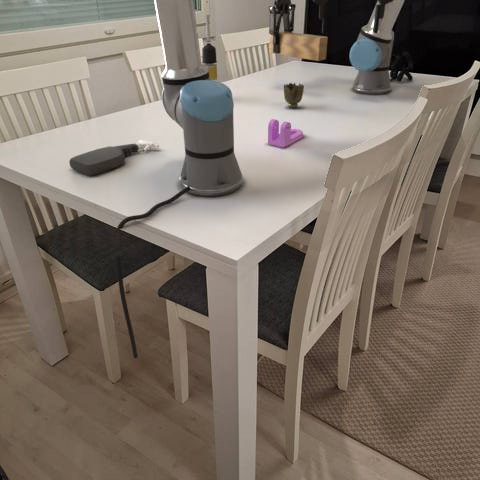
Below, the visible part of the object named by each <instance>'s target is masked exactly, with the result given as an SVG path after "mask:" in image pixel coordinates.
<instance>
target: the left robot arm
mask: <svg viewBox="0 0 480 480" xmlns="http://www.w3.org/2000/svg"><path fill="white" fill-rule="evenodd" d="M153 1H154V7H155V11H156V18H157V23H158V29H159V34H160V39H161V45H162V50H163V55H164V62H165V68H164V70H163V71H162V73H161V81H162V86H163V88H162V92H161V101H162V104H163V108H164V111H165V112H166V114H167V115H168V117H170V118H171V120H172V121H174V122H175V123H176V124H177V125H179V127H180V128H181V129H182V131H183V143H184V154H185V155H184V158H183V164H182V168H181V171H180V176H179V183H180V184H179V185H180V188H181V189H182V190H180V191H179V192H177V193H175V194H174V195H173V196H172V197H170V198H168V199H166V200H164V201H160V202H158V203H156V204H155V205H153V206H152V207H151V208H150V209H149V210H148V211H147V212H145V213H142V214H134V215H130V216H127V217H125V218H123V219H122V220H121V221H120V222H119V224H118V225H117V226H116V229H117V230H121V229H123V227H124V226H125V225H126V224H127V223H129V222H132V221H138V220H143V219H146V218H148V217H151V215H153V214H154V213H155V212H156V211H157V210H158V209H160V208H162V207H164V206H168V205H169V204H171V203H173V202H175V201H176V200H178V199H179V198H180V197H182V196H183V195H185V194H190V195H194V196H199V197H221V196H224V195H229V194H232V193H234V192H235V191H237V190H239V189H240V188H241V187H242V185H243V174H242V171H241V168H240V165H239V163H238V160H237V157H236V154H235V132H234V131H235V130H234V127H235V126H234V109H235V108H234V107H235V104H234V103H235V102H234V99H233V93H232V90H231V88H230V87H229V86H228V85H226V84H225V83H222V82H219V81H216V80H212V81H210V76H209V69H208V68H207V67H206V66H205V65H204V63H202V57H201V55H202V54H201V49H200V42H199V41H200V40H199V35H198V33H199V32H198V27H197V26H198V25H197V19H196V12H195V11H196V10H195V5H194V4H195V3H194V0H153ZM312 1H313V4H316V5H318V6H319V11H318V19H319V20H322V24H321V26H322V27H321V33H322V34H323V35H325V34H326V32H327V20H328V7H329V6H328V5H327V3H328V1H329V0H312ZM377 1H379V3H380V5H376V4H375V6H376V11H375V18H374V26H373V32H374V33H377V32H378V25H379V19H383V17H384V10H385V5H386V4H387V3H390V2H392V1H393V0H377ZM122 267H123V266H122V257H121V256H116V271H117V272H116V273H117V282H118V288H119V294H120V299H121V300H120V301H121V305H122V310H123V313H124V314H123V315H124V319H125V322H126V326H127V331H128V335H129V339H130V345H131V351H132V355H133V359H138V357H139V356H138V351H137V350H138V349H137V345H136V339H135V335H134V330H133V327H132V321H131V317H130V314H129V308H128V304H127V298H126V293H125V286H124V278H123V268H122Z"/></svg>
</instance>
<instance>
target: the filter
mask: <svg viewBox="0 0 480 480" xmlns="http://www.w3.org/2000/svg"><path fill="white" fill-rule="evenodd" d="M210 17H211V14H204V18H205V27H206V29H205V30H206V31H205V33H206V39H207V40H206V42H207V43H206V45H204V46H202V49H201V50H202V51H201V52H202V54H201V55H202V57H201V59H202V60H201V62H202V64H204V65H205V66H206V67H207V68H208V69H209V76H210V81H216V80H218V64H216V63H218V61H217V48H216V47H215V46H214V45H212V43H210V42H211V40H210V39H211V31H210V29H211V28H210Z"/></svg>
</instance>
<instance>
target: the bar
mask: <svg viewBox="0 0 480 480" xmlns="http://www.w3.org/2000/svg"><path fill="white" fill-rule="evenodd" d="M278 35H279V36H280V46H279V53H273V35H271V34H269V45H268V46H269V48H268V51H269V52H268V53H269V54H275V55H279V56H285V57H291V58H298V59H304V60H309V61H315V62H320V61H324V60H326V59H327V49H328V39H329V38H328V36H324V35H315V34H308V33H299V32H284V30H283V31H282V30H279V34H278Z"/></svg>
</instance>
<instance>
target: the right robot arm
mask: <svg viewBox="0 0 480 480" xmlns="http://www.w3.org/2000/svg"><path fill="white" fill-rule="evenodd" d="M404 2H405V0H393V1H392V2H390V3H387V4H386V5H385V10H384V17H383V19H379V25H378V32H377V33H374V32H373V26H374V18H375V11H376V5H380V3H379V1H378V0H376V4H375V6H374V9H373V10H372V13H371V16H370V19H369V20H368V23H367V24H366V25H364V26H362V27H361V29H360V32H359V34H358V36H357V39H356V41H355V42H354V43H353V44H352V46H351V48H350V50H349V55H348V56H349V61H350V64H351V66H352V67H353V68H354V69H355V70H356V71H358V72H357V75H356V77H355V79H354V81H353V84H352V91H353V92H355V93H358V94H362V95H363V94H364V95H385V94H388V93H390V92H391V90H392V84H391V82H392V81H395V80H397V77H396V78H395V79H394V78H392V79H391V78H390V66H389V65H390V60H391V59H392V58H391V53H392V52H393V47H394V41H395V32H394V30H393V27H394V25H395V23H396V21H397V18H398V16H399V14H400V11H401V9H402V7H403V5H404ZM296 7H297V5H296V4H295V3H292V0H274V2H273V5H269V6H268V12H269V21H268V23H269V25H268V33H269V35H270V34H271V35H273V53H279V46H280V36H279V35H278V34H279V31H280V28H281V23H282V24H283V31H284V32H292V33H294V31H295V30H294V29H295V12H296V11H295V10H296ZM273 53H272V54H273ZM406 68H407V71H409V70H408V67H406ZM411 71H413V68H412V69H411ZM397 76H398V75H397Z"/></svg>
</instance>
